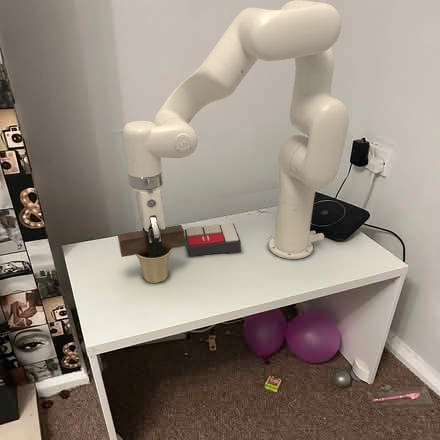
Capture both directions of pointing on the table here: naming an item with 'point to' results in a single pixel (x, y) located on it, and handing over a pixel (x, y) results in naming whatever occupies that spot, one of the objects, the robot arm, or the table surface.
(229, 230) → the calculator
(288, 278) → the table surface
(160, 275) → the flower pot
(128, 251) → the brown wooden block
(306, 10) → the robot arm
